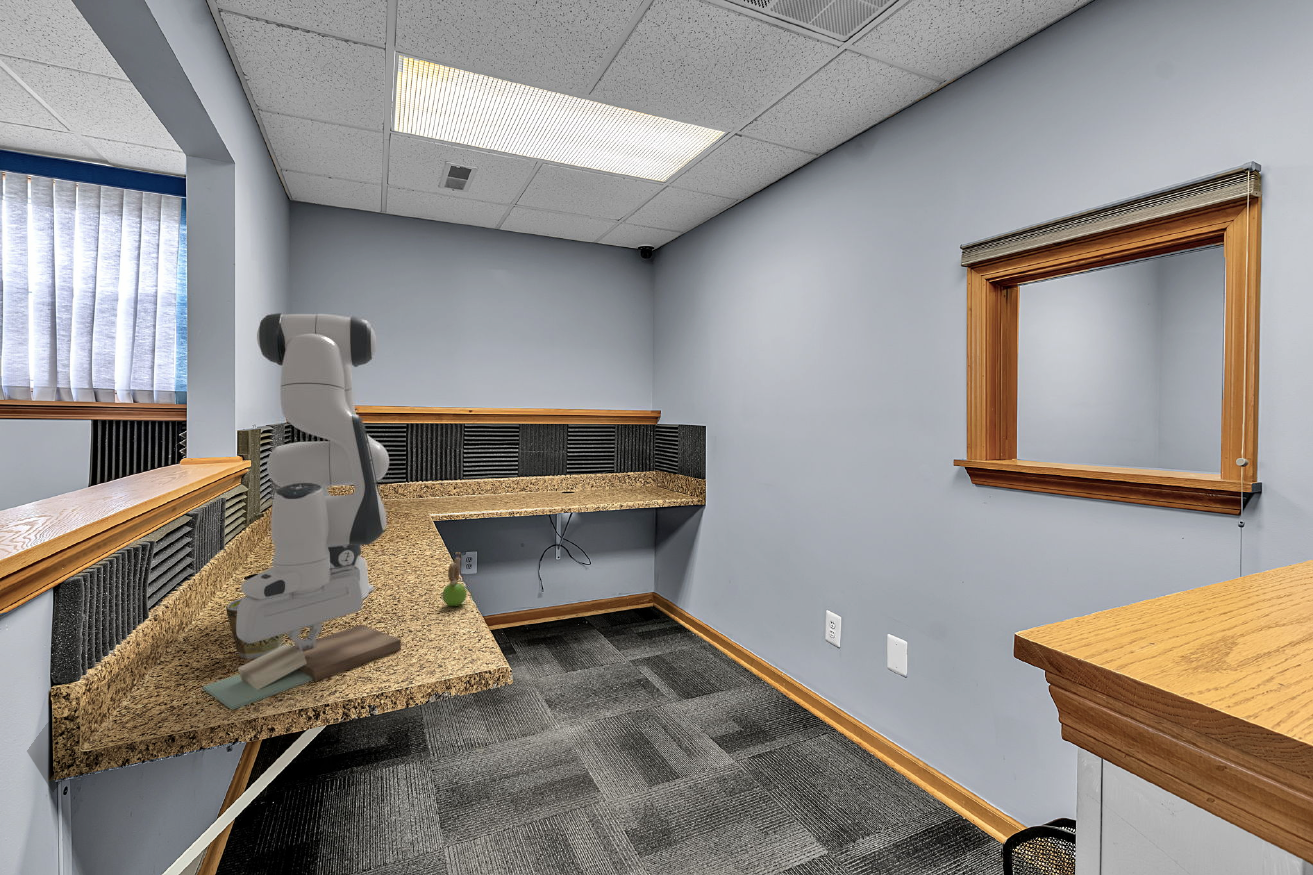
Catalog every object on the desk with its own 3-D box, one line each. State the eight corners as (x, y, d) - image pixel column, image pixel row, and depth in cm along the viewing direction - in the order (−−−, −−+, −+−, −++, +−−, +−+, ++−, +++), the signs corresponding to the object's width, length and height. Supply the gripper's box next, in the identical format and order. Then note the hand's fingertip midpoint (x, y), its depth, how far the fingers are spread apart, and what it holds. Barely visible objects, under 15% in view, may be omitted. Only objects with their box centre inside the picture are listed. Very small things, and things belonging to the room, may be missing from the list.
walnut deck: (278, 661, 109) (277, 651, 109) (362, 633, 123) (362, 624, 122) (315, 681, 101) (314, 670, 101) (401, 649, 115) (400, 639, 114)
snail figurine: (470, 600, 143) (469, 551, 143) (463, 609, 137) (461, 558, 136) (448, 600, 143) (447, 551, 142) (439, 609, 137) (438, 558, 136)
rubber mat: (202, 689, 99) (202, 686, 99) (280, 663, 109) (280, 660, 109) (231, 709, 92) (231, 706, 92) (312, 680, 102) (312, 677, 102)
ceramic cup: (281, 659, 111) (278, 607, 110) (219, 666, 108) (216, 612, 107) (301, 633, 123) (299, 586, 122) (246, 639, 120) (244, 591, 120)
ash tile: (241, 680, 101) (237, 668, 100) (290, 655, 107) (287, 643, 107) (257, 690, 97) (253, 677, 97) (306, 663, 104) (303, 651, 103)
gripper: (350, 559, 116) (353, 628, 117) (230, 586, 99) (233, 666, 100) (368, 564, 112) (370, 634, 113) (246, 592, 96) (249, 675, 96)
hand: (305, 649), depth 106 cm, fingers closed
